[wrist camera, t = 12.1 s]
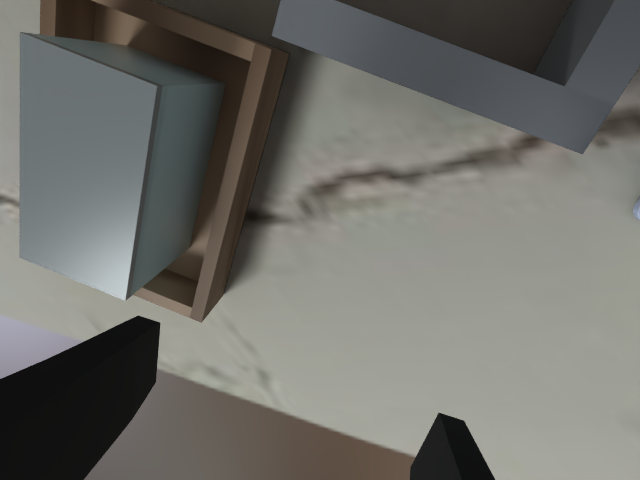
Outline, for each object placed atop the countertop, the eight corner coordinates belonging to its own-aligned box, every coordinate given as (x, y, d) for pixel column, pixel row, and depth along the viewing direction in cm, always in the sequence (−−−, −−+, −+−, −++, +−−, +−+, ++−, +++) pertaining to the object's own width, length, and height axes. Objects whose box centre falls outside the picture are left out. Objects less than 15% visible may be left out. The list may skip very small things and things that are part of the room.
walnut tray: (290, 53, 15) (271, 49, 13) (222, 295, 20) (201, 322, 18) (92, -22, 16) (41, -39, 13) (75, 235, 21) (35, 255, 18)
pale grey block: (225, 83, 16) (157, 86, 11) (189, 248, 19) (125, 300, 15) (127, 45, 16) (20, 32, 11) (108, 215, 19) (19, 257, 15)
